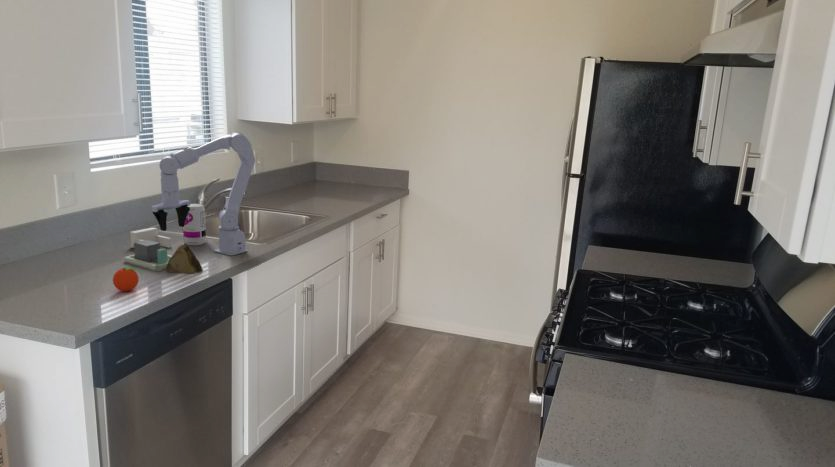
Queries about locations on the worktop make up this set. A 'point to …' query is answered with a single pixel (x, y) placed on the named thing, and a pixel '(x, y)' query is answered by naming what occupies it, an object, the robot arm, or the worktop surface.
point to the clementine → (125, 279)
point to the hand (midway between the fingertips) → (172, 228)
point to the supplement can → (195, 225)
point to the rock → (184, 261)
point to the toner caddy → (150, 252)
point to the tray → (146, 263)
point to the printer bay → (149, 237)
